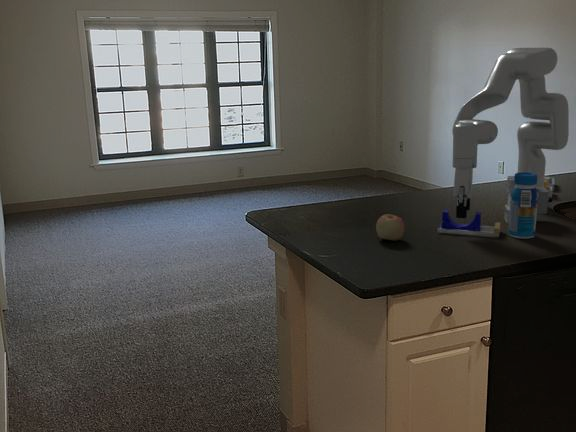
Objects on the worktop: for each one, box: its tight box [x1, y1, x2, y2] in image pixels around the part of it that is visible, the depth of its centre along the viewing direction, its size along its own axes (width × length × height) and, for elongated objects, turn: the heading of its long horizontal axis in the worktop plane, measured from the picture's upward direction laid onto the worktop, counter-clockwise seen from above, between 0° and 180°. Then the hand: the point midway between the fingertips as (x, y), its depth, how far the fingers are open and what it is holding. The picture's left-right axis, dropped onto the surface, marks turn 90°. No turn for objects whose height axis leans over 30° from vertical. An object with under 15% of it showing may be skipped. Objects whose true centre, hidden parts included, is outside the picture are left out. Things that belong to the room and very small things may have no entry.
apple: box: [375, 213, 406, 242], centre depth 200 cm, size 9×9×8 cm
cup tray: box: [546, 176, 555, 192], centre depth 271 cm, size 15×15×3 cm
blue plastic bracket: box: [440, 209, 482, 231], centre depth 208 cm, size 12×4×6 cm, turn 68°
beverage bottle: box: [507, 172, 538, 240], centre depth 200 cm, size 8×8×20 cm
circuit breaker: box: [503, 175, 553, 224], centre depth 218 cm, size 8×14×15 cm, turn 78°
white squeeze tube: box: [437, 221, 502, 239], centre depth 207 cm, size 8×19×3 cm, turn 69°
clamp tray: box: [506, 186, 553, 199], centre depth 257 cm, size 9×17×3 cm, turn 69°
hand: (463, 213), depth 208 cm, fingers open, 9 cm apart
